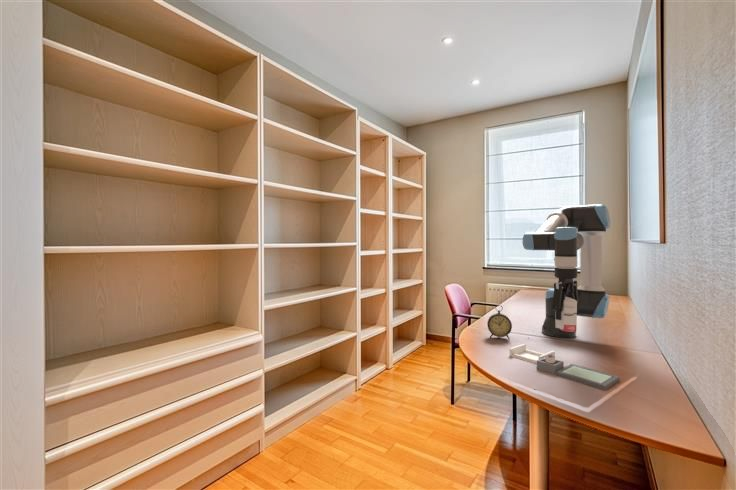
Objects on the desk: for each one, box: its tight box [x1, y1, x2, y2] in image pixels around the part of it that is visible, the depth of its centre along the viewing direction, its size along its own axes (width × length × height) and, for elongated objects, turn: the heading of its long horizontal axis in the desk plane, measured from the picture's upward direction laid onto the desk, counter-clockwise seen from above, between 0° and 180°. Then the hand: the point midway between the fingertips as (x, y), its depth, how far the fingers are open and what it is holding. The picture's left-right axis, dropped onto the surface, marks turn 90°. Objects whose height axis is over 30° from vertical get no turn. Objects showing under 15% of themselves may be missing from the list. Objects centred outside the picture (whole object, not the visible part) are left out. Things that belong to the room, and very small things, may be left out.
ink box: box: [559, 297, 578, 333], centre depth 131 cm, size 9×5×12 cm, turn 168°
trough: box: [509, 343, 556, 365], centre depth 136 cm, size 11×13×4 cm
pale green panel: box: [562, 366, 612, 384], centre depth 116 cm, size 9×12×1 cm
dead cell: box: [545, 355, 556, 365], centre depth 124 cm, size 3×3×5 cm
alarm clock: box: [486, 304, 513, 340], centre depth 167 cm, size 11×5×16 cm, turn 73°
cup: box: [536, 357, 565, 375], centre depth 124 cm, size 6×6×4 cm
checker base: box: [554, 363, 620, 391], centre depth 116 cm, size 12×15×2 cm
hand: (565, 325), depth 131 cm, fingers closed on ink box, 9 cm apart
